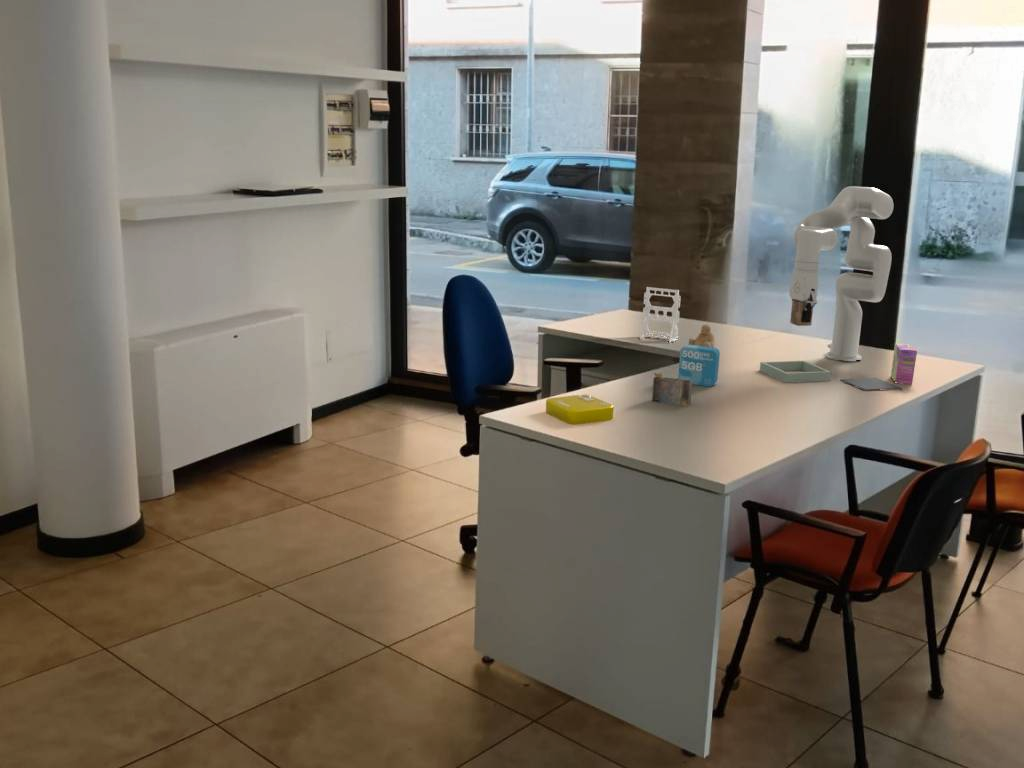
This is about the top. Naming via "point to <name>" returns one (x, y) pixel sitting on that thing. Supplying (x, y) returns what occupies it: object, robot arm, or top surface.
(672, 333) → the film strip holder
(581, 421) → the element tile
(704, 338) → the statue
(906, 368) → the box
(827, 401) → the top surface
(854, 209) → the robot arm
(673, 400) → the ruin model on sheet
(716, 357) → the data package
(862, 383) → the mat
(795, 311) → the block
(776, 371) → the green square frame
